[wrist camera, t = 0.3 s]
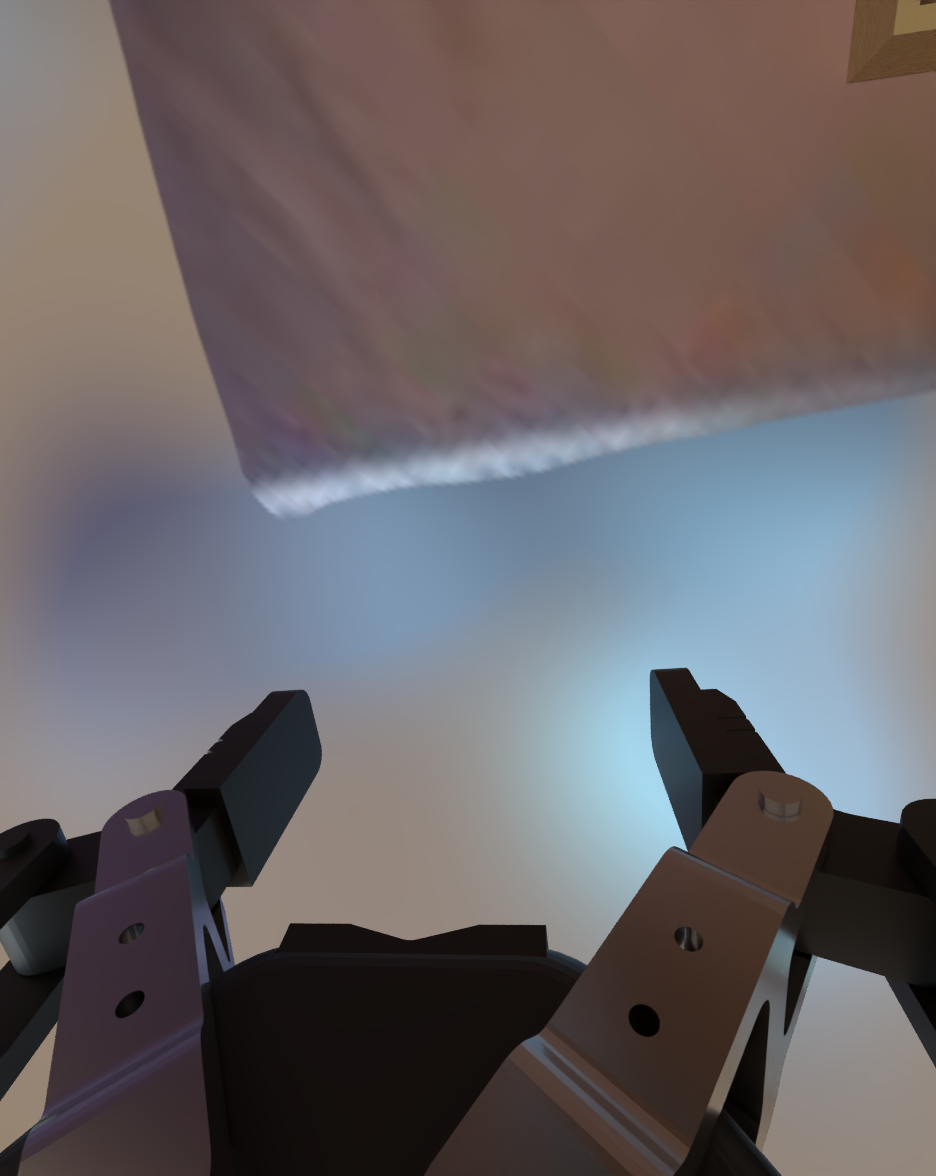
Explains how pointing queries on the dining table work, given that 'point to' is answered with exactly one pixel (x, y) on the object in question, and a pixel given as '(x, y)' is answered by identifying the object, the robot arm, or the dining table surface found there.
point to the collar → (892, 39)
